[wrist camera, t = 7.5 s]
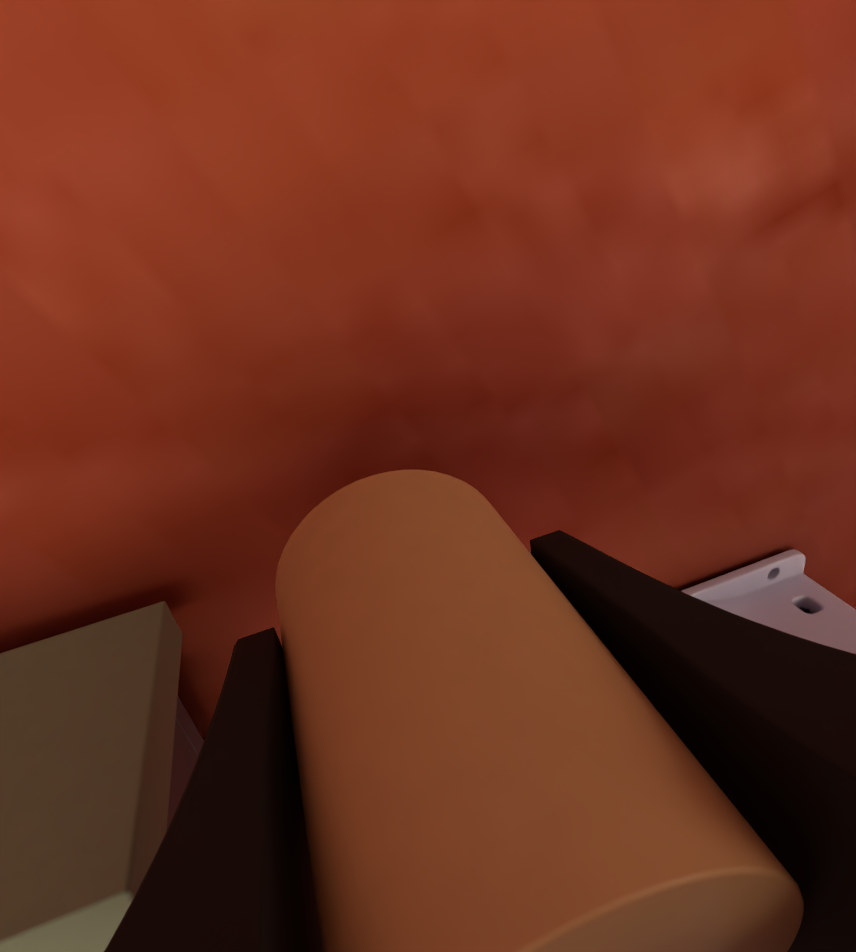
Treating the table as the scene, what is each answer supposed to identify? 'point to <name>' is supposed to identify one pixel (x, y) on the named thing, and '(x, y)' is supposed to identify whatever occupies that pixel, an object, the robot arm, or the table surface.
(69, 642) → the drawer
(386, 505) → the paper roll
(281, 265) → the table surface
